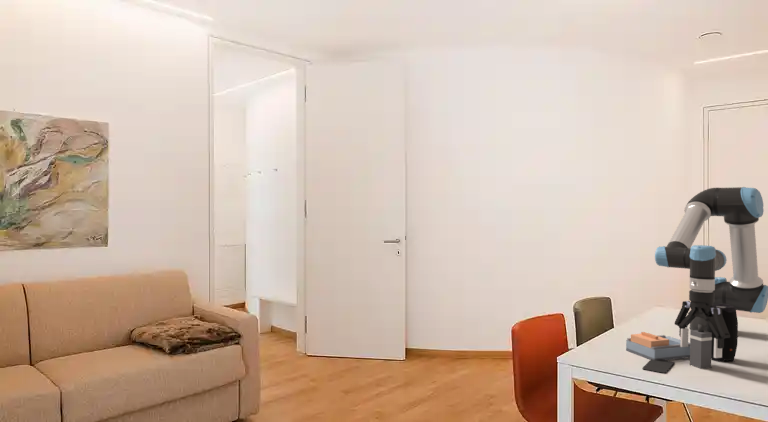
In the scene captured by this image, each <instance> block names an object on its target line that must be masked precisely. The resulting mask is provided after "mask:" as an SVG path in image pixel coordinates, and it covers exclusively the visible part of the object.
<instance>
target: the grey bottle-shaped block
mask: <svg viewBox="0 0 768 422" xmlns="http://www.w3.org/2000/svg"><path fill="white" fill-rule="evenodd" d="M689 340H690V341H689V343H690V358H689V366H691V365H692V367H695V368H697V369H700V370H702V369H711V368H712V358H711V349H712V333H711V332H707V331H704V325H703V324H698V330H690V332H689Z"/></svg>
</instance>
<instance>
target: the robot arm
mask: <svg viewBox="0 0 768 422" xmlns="http://www.w3.org/2000/svg"><path fill="white" fill-rule="evenodd" d="M763 200H764V199H763V196H762V193H761V192H760V191H759V190H758V189H757V188H755V187H745V186H742V187H740V186H739V187H710V188H707V189H704V190H702V191H700V192H699V193H697V194H695V195H694V196H693V197H691V199H689V200H688V202H687V203H686V204H685V207H684V215H683V216H682V218H681V220H680V221H679V223H678V225H677V227H676V229H675V231H674V233H673V234H672V236H671V238H670V240H669V242H668V243H667V245H665V246H664V245H663V246H658V247H656V249H655V251H654V252H655V253H654V260H655V261H654V262H655V263H656V265H657V266H659V267H666V268H674V269H675V268H677V269H688V270H689V289H690V290H689V291H688V293H689V294H688V300H685V301H682V304H681V305H682V306H681V309H680V310H679V313H678V315H677V317H676V319H675V321H674V325H675V326H677V327H678V328H679V331H678V332H679V334H678V335H679V337H680V340H681V342H680V347H688V342H689V329H690V331H692V330H698V324H703V325H704V331H707V322H708V324H709V326H710V327H711V329H712V331H713V332H714V334H715V336H716V338H714V358H722V348H724V339H725V338H730V334H729V331H728V329H727V326H726V324H725V321H724V318H723V316H722V309H721V308H713V305H715V304H729V305H731V306H733V307H735V309H736V311H740V312H746V313H747V312H748V313H751V314H752V313H756V314H761V313H763V312H764V311H765V310H766V307H767V304H768V285H766V284H764V280H763V279H762V278H761V277H760V276H759V268H758V255H757V243H756V242H757V240H756V238H757V237H756V228H755V226H756V223H758V222H759V220H760V218H762V216H763V215H764V211H765V210H764V201H763ZM711 217H723V221H724V223H725V224H726V225H728V227H729V228H728V229H729V238H730V239H729V240H730V242H729V243H730V251H731V262H732V265H731V266H732V275H733V276H732V277H731V278H729V281H727V278H726V277H721V276H719V277H718V276H717V277H716V271H719V270H721V269H723V268H724V267H725V266H726V264H727V261H728V260H727V257H726V254H725V253H724V252H723V251H721V250H719V249H716V247H715V246H714V245H713V246H712V245H703V244H701V245H700V244H697V245H696V244H694V242H695V240H696V238H697V236H698V235H699V232H700V231H701V229H702V227H703V225H704V223H705V222H706V221H708V220H709V219H710V218H711ZM690 309H691V310H690ZM709 316H710V317H709ZM688 327H689V328H688Z"/></svg>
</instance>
